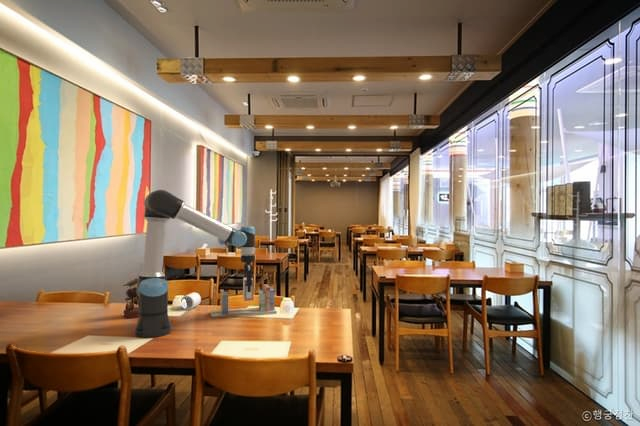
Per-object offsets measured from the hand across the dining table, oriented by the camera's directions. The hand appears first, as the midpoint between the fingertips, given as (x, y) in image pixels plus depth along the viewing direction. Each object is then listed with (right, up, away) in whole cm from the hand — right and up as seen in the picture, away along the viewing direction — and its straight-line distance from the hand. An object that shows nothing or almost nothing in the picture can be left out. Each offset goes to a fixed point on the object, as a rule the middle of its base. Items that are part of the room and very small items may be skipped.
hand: (248, 296), depth 204 cm
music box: (-58, -9, -7) cm, 59 cm away
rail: (-2, -9, -1) cm, 9 cm away
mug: (-37, -9, +11) cm, 40 cm away
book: (0, -1, 0) cm, 1 cm away
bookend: (-12, -8, -4) cm, 14 cm away
